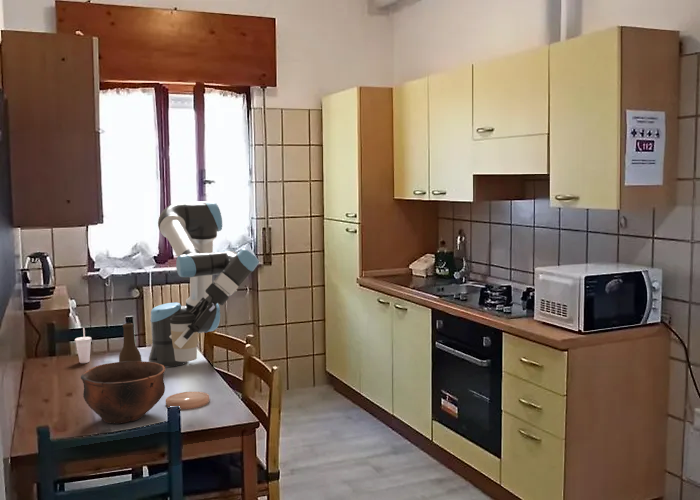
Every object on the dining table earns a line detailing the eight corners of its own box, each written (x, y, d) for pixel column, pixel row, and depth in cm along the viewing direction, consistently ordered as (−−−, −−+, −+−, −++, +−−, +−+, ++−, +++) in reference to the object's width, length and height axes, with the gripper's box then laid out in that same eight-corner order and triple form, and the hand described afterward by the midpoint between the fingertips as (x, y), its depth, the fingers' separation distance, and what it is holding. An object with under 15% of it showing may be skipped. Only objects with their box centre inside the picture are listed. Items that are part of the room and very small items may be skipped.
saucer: (167, 397, 247) (167, 393, 246) (210, 394, 249) (210, 390, 249) (163, 410, 233) (163, 406, 233) (208, 407, 235) (208, 403, 235)
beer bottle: (136, 386, 260) (132, 320, 257) (147, 391, 254) (144, 323, 252) (116, 392, 255) (112, 323, 252) (127, 396, 249) (122, 327, 246)
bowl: (160, 429, 216) (157, 379, 214) (73, 434, 214) (70, 383, 212) (173, 403, 240) (171, 358, 239) (96, 407, 239) (93, 361, 237)
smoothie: (89, 363, 294) (87, 329, 292) (73, 364, 294) (71, 329, 292) (95, 359, 300) (93, 326, 299) (79, 360, 300) (77, 326, 299)
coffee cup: (193, 362, 234) (190, 316, 232) (166, 362, 236) (164, 316, 234) (204, 355, 243) (202, 311, 241) (178, 355, 244) (176, 310, 243)
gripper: (237, 301, 233) (189, 357, 229) (222, 292, 253) (177, 342, 249) (220, 286, 230) (171, 342, 226) (206, 278, 250) (160, 329, 246)
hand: (174, 342), depth 237 cm, fingers closed on coffee cup, 9 cm apart
